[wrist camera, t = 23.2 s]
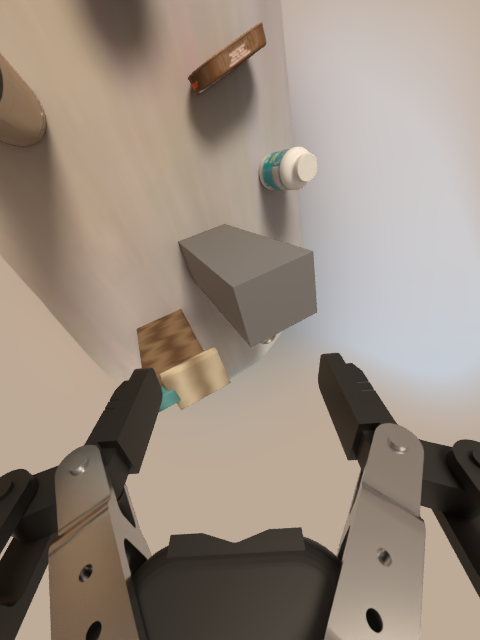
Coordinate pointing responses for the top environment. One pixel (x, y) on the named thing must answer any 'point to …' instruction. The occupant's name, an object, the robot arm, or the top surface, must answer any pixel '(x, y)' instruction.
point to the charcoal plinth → (253, 279)
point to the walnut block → (167, 343)
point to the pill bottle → (287, 169)
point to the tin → (228, 59)
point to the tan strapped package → (193, 379)
